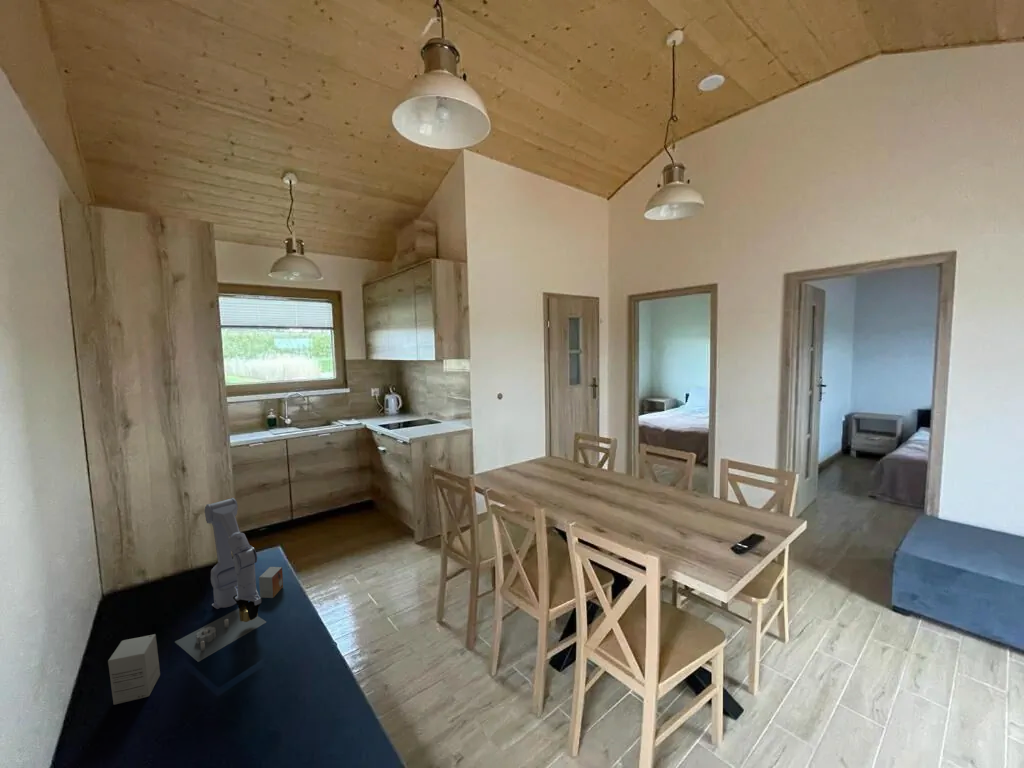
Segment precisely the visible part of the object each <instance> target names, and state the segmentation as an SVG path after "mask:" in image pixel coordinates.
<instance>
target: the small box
mask: <svg viewBox="0 0 1024 768" xmlns="http://www.w3.org/2000/svg"><path fill="white" fill-rule="evenodd" d="M283 575H284V574H283V566H280V567H279V566H269V567H268V568H267V569H266V570H265V571H264V572H263V573H262V574H260V576H258V583H259V585H258V586H259V597H260V598H262V599H267V598H268V599H273V598H275V596H276V595H277V594H279V592H280V591H281V590H282V589H283V588H284V579H283V578H284V576H283Z"/></svg>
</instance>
